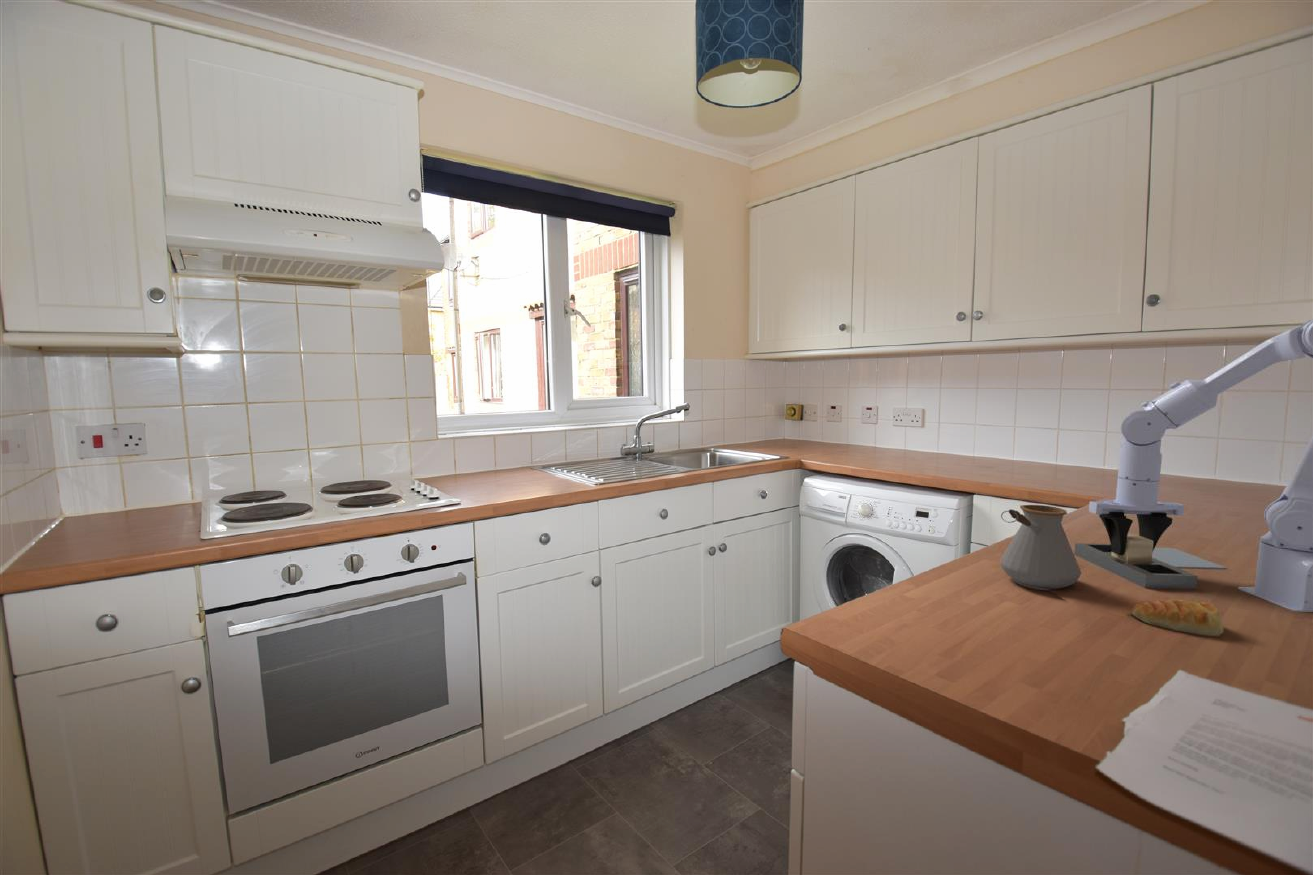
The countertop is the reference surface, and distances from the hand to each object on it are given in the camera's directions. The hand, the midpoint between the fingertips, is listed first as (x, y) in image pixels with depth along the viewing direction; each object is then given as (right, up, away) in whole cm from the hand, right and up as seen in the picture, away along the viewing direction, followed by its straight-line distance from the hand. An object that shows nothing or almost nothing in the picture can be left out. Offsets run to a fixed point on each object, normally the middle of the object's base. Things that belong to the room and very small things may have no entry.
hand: (1131, 553), depth 104 cm
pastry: (-10, -6, -21) cm, 25 cm away
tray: (0, -3, 0) cm, 3 cm away
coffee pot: (-24, -5, -8) cm, 25 cm away
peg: (0, -3, 0) cm, 3 cm away
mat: (+13, -3, +8) cm, 15 cm away
